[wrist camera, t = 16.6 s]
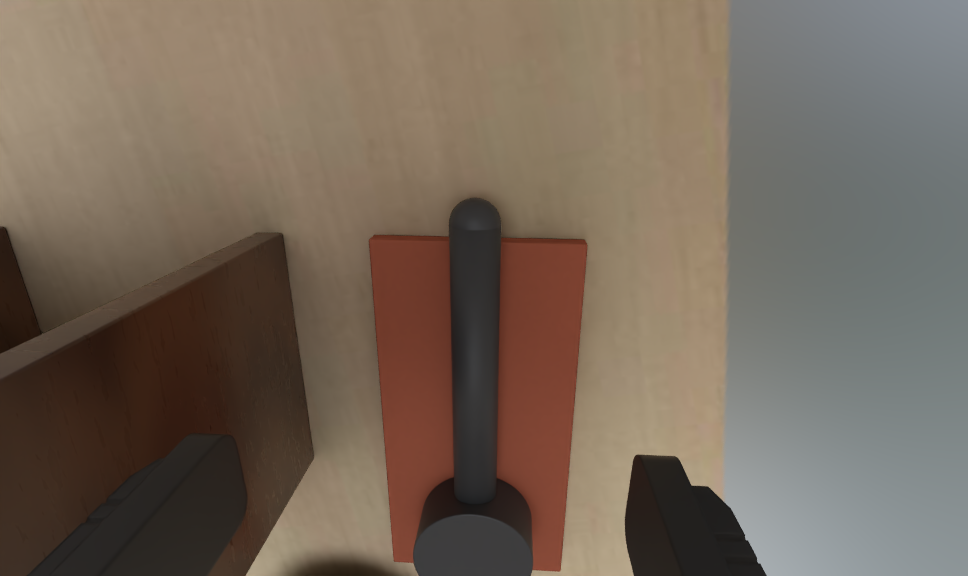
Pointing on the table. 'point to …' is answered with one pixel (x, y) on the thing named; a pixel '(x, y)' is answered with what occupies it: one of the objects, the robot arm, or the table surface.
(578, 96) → the table surface
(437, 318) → the mat
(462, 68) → the table surface
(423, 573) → the ladle
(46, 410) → the stand
